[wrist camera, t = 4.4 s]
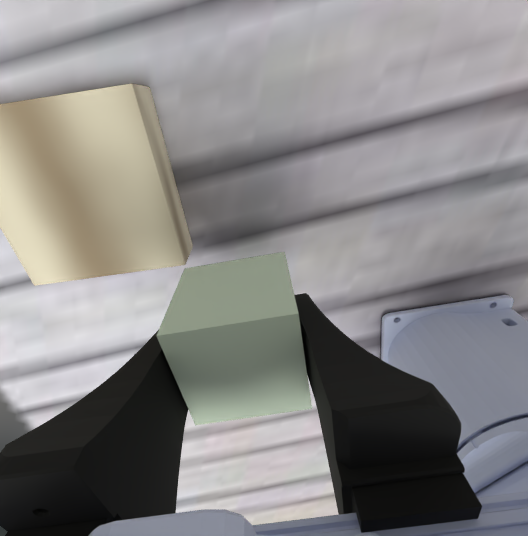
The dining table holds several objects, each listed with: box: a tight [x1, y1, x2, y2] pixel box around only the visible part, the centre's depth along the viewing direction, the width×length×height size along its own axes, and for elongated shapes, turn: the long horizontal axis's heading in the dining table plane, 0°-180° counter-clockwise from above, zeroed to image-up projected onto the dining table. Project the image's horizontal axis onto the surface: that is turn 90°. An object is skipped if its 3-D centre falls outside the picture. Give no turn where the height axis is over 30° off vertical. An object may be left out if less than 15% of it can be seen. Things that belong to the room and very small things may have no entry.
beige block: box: [0, 84, 193, 286], centre depth 17 cm, size 9×9×3 cm
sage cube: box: [157, 252, 312, 425], centre depth 12 cm, size 4×4×4 cm
